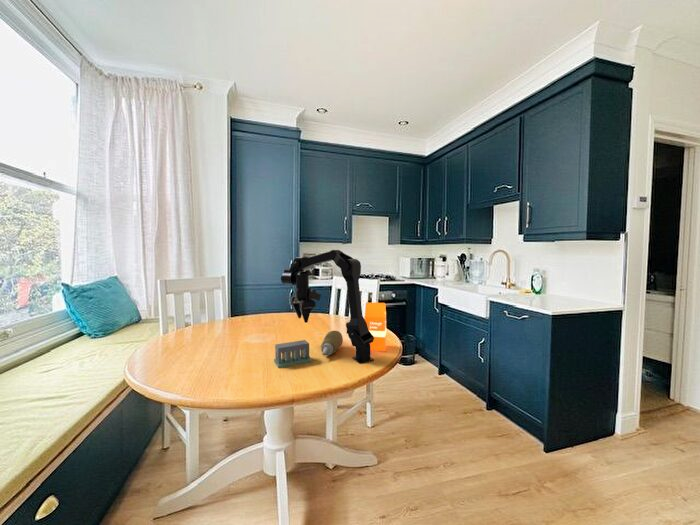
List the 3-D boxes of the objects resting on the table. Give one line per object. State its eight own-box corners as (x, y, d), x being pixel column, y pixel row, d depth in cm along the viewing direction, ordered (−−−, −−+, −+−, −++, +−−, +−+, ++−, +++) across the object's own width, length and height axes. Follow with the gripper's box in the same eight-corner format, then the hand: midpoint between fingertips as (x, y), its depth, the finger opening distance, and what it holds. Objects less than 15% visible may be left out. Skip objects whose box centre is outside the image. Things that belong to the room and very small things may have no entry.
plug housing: (305, 354, 121) (304, 339, 120) (309, 358, 116) (309, 343, 116) (275, 359, 115) (275, 344, 115) (278, 364, 111) (278, 348, 111)
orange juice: (384, 351, 127) (384, 304, 126) (364, 350, 129) (364, 304, 128) (386, 345, 135) (386, 301, 134) (367, 344, 136) (366, 300, 135)
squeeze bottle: (346, 344, 133) (335, 362, 116) (329, 346, 135) (316, 364, 118) (342, 326, 133) (331, 342, 115) (325, 329, 134) (312, 345, 117)
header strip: (306, 356, 122) (305, 345, 122) (311, 361, 116) (311, 350, 115) (274, 361, 116) (273, 350, 116) (278, 367, 110) (278, 355, 110)
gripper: (327, 286, 127) (327, 322, 128) (312, 282, 144) (312, 314, 145) (302, 288, 122) (302, 325, 123) (289, 283, 139) (290, 317, 140)
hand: (302, 320), depth 133 cm, fingers open, 9 cm apart
